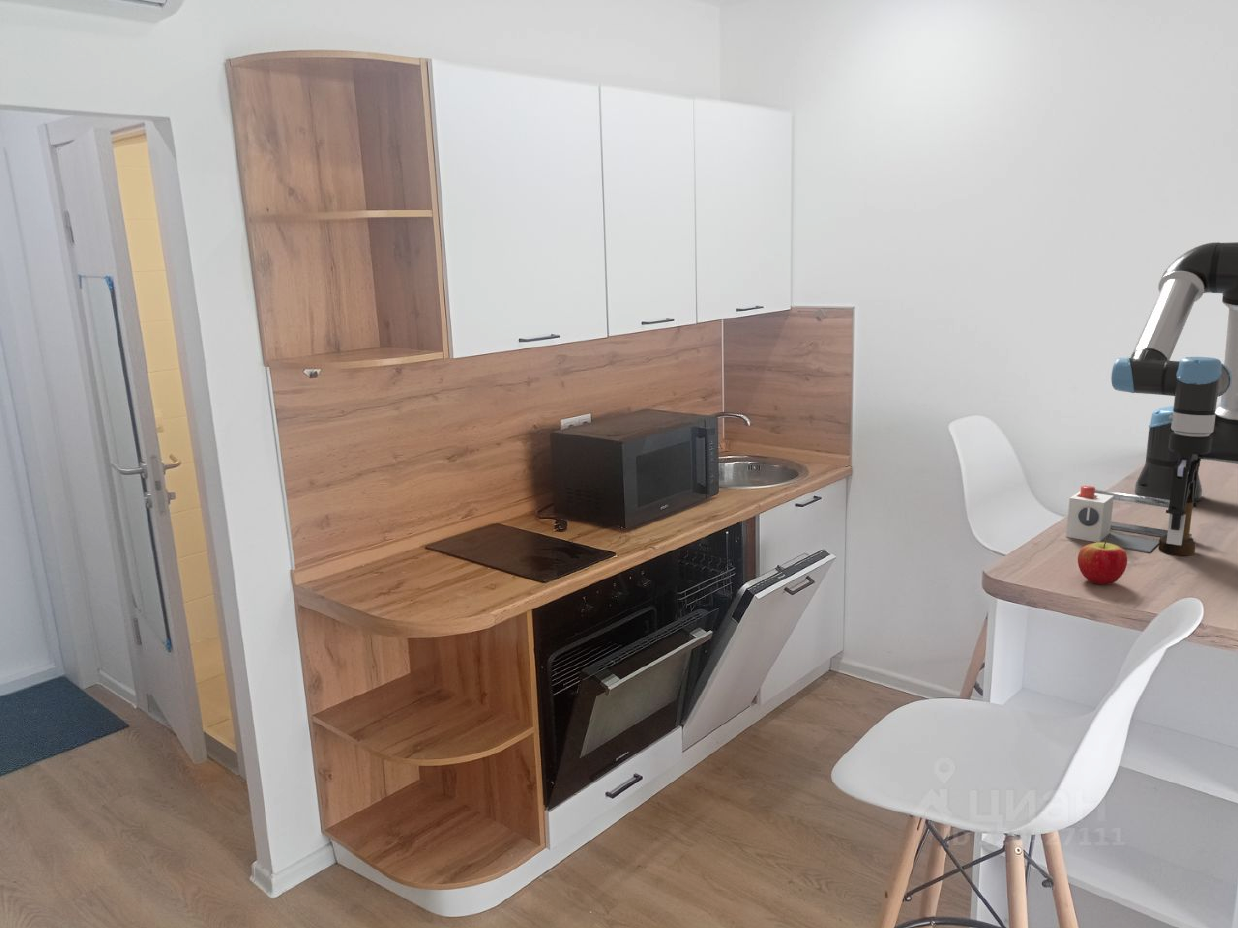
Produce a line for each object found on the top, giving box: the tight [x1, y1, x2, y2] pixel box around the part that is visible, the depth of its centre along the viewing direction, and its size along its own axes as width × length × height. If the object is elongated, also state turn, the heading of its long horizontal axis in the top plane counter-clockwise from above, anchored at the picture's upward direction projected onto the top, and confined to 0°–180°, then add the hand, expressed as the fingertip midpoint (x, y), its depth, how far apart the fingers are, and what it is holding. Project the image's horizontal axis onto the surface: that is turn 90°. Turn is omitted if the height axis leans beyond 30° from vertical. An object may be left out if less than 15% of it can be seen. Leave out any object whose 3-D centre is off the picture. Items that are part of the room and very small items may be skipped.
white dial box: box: [1065, 490, 1115, 543], centre depth 212 cm, size 9×7×9 cm
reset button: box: [1079, 485, 1096, 499], centre depth 212 cm, size 3×3×4 cm
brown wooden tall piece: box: [1157, 489, 1196, 556], centre depth 200 cm, size 7×6×18 cm
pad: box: [1100, 531, 1160, 554], centre depth 207 cm, size 10×10×1 cm
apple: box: [1077, 535, 1128, 586], centre depth 182 cm, size 8×8×10 cm
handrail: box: [1095, 488, 1193, 539], centre depth 215 cm, size 4×21×8 cm, turn 49°
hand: (1177, 540), depth 201 cm, fingers closed on brown wooden tall piece, 6 cm apart
